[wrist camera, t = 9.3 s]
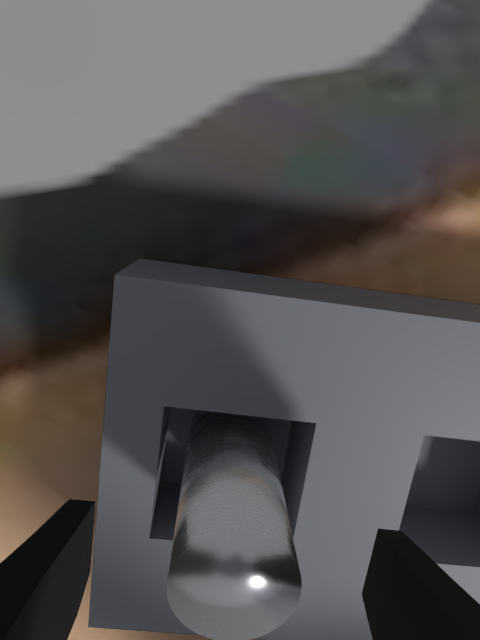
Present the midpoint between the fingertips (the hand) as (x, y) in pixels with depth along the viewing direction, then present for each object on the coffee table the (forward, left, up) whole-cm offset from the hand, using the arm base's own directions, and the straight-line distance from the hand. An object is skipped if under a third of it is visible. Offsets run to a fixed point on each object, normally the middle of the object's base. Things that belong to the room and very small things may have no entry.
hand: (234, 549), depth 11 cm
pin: (0, 0, -6) cm, 6 cm away
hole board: (0, -4, -7) cm, 8 cm away
